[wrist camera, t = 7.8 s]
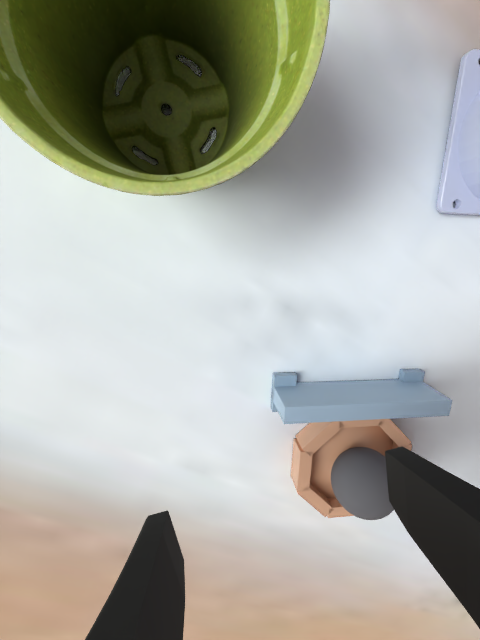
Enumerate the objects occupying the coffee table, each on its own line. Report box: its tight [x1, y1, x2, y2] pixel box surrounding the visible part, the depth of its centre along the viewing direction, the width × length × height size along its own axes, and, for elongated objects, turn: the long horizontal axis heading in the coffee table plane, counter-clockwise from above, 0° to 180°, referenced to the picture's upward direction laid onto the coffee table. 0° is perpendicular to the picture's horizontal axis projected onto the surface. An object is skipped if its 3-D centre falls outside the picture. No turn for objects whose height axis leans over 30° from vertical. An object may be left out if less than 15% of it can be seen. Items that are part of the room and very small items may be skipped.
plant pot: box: [0, 0, 330, 196], centre depth 12 cm, size 9×9×9 cm
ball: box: [331, 447, 394, 520], centre depth 20 cm, size 4×4×4 cm
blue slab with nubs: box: [271, 369, 452, 424], centre depth 20 cm, size 10×2×3 cm, turn 88°
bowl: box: [291, 419, 412, 518], centre depth 22 cm, size 8×8×1 cm
